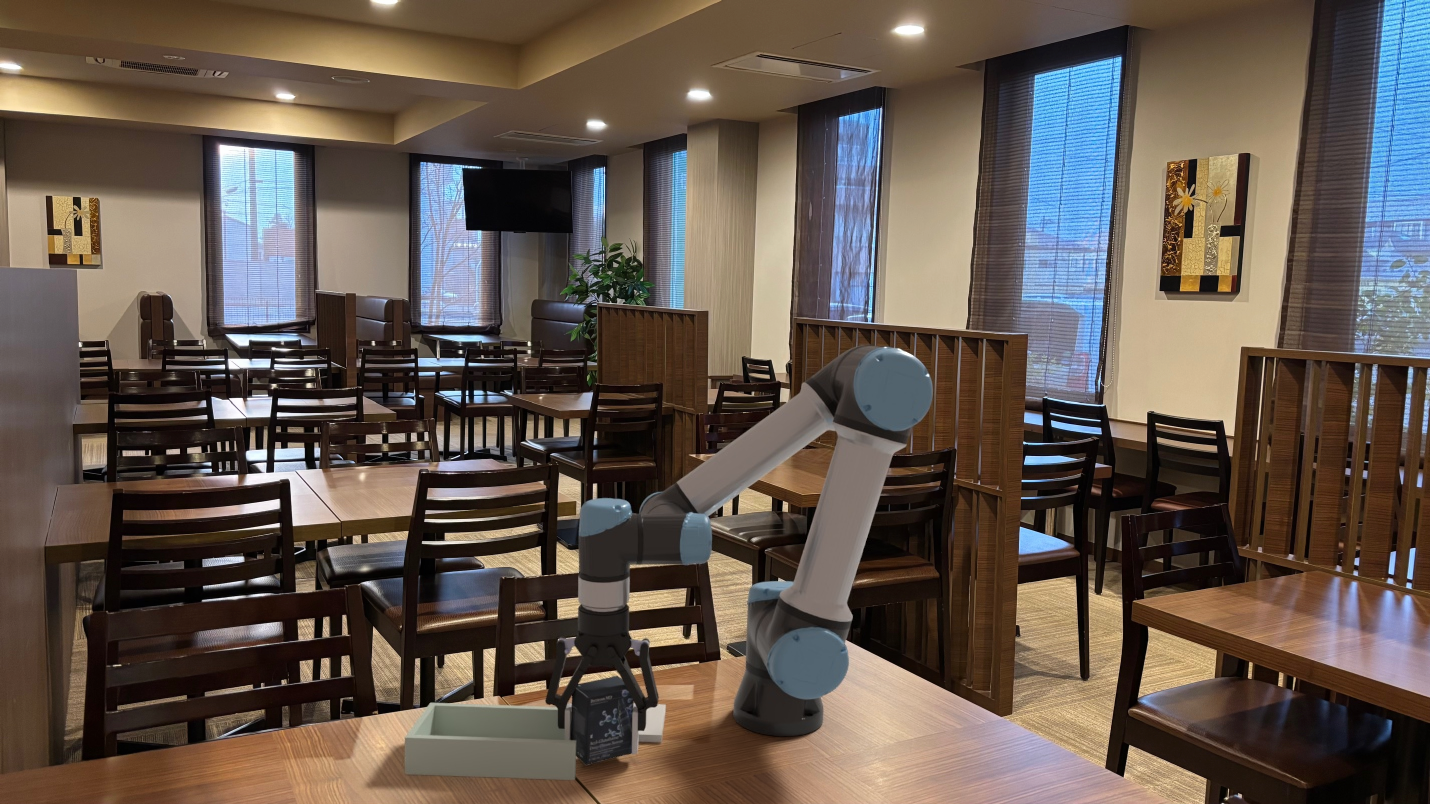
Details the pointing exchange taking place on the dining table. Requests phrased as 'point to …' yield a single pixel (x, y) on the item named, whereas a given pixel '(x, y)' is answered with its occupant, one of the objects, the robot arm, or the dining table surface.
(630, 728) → the box
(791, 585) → the robot arm
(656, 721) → the plate
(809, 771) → the dining table surface
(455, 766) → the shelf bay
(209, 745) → the dining table surface
